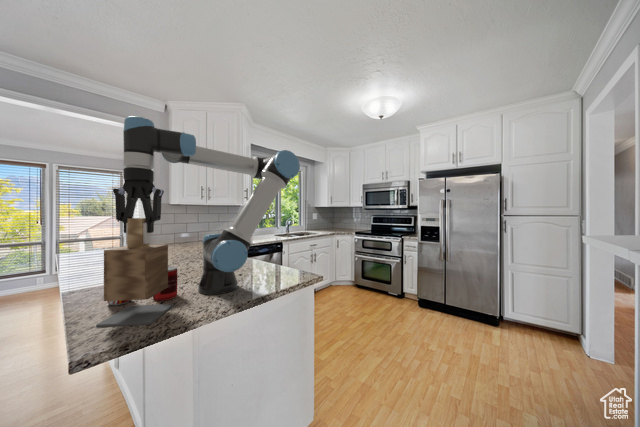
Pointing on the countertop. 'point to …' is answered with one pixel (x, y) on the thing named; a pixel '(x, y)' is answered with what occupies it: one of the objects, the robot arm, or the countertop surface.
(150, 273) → the wooden stepped block
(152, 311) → the mat
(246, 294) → the countertop surface
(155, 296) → the canned food
